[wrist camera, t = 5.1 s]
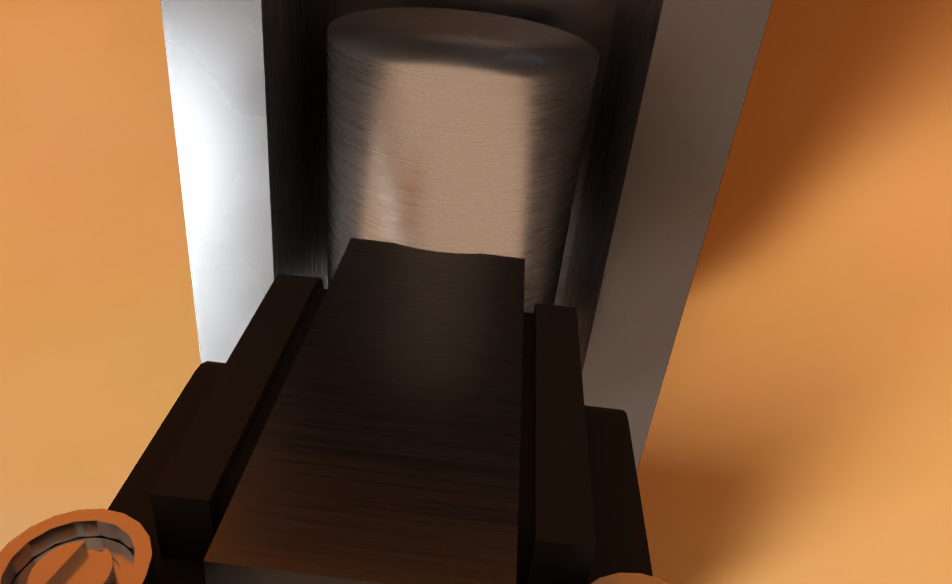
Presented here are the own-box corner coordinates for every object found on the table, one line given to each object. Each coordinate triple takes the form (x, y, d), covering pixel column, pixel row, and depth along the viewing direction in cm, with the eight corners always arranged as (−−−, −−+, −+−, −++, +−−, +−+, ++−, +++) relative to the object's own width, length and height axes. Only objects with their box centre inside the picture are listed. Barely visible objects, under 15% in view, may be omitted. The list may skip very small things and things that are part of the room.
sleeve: (270, -438, 11) (91, -617, 6) (768, -379, 11) (925, -523, 6) (293, 290, 17) (210, 446, 13) (605, 328, 17) (628, 498, 13)
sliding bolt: (358, -4, 12) (53, 280, 5) (591, 25, 12) (684, 357, 5) (347, 566, 20) (224, 1047, 12) (494, 584, 20) (465, 1078, 12)
